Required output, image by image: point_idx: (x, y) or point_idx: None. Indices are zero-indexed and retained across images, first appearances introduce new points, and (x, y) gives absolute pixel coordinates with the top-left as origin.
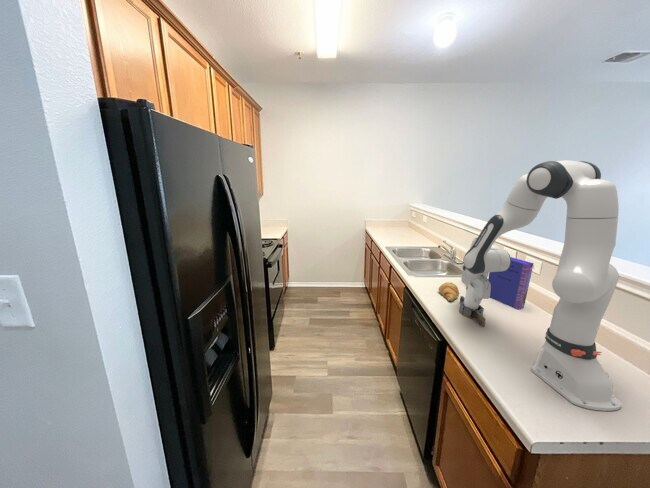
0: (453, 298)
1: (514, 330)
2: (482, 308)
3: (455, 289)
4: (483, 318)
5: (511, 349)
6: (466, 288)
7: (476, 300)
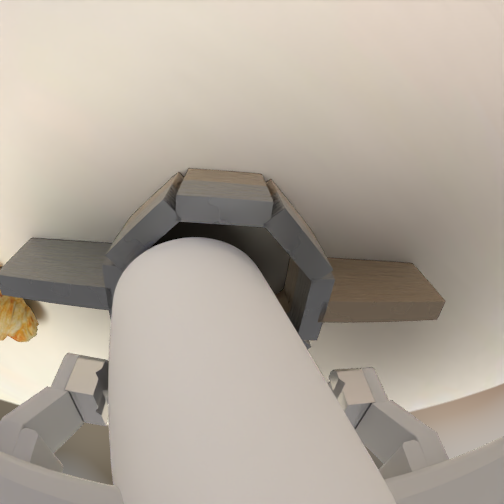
0: (15, 310)
1: (478, 80)
2: (275, 220)
3: None
4: (438, 314)
5: None
6: (56, 449)
7: (361, 427)
